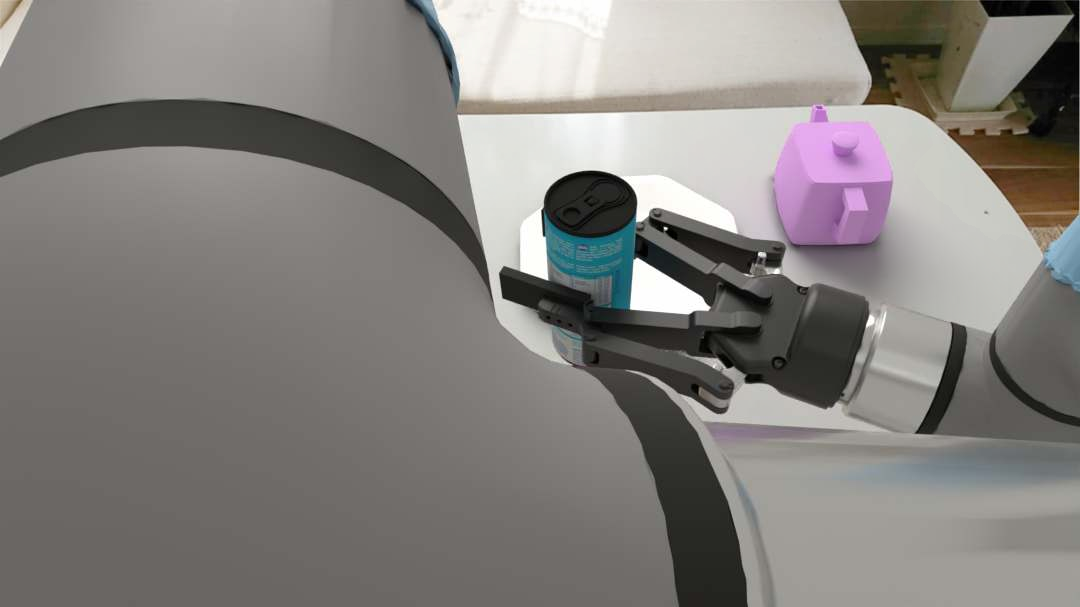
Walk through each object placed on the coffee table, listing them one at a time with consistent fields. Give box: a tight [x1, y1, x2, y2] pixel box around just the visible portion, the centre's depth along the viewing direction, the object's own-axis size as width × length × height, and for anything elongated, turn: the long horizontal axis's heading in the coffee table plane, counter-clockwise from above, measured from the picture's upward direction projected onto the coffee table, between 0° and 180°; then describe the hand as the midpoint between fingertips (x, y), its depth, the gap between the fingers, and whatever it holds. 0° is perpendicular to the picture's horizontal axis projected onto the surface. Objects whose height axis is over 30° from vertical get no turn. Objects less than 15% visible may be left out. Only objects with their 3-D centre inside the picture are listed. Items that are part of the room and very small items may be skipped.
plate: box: [519, 174, 750, 314], centre depth 81 cm, size 24×24×2 cm
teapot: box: [773, 104, 894, 246], centre depth 81 cm, size 18×10×10 cm, turn 179°
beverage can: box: [543, 169, 637, 367], centre depth 53 cm, size 6×6×15 cm
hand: (524, 250), depth 54 cm, fingers closed on beverage can, 6 cm apart
